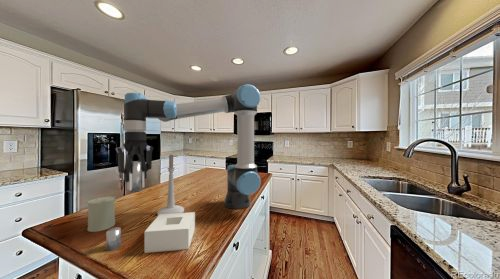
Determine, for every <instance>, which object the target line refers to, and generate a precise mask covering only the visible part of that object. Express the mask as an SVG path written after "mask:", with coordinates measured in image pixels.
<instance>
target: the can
mask: <svg viewBox="0 0 500 279" xmlns="http://www.w3.org/2000/svg"><path fill="white" fill-rule="evenodd" d="M115 202H116V197H115V196H102V197H97V198H93V199H90V200H89V201H87V232H91V233H97V232H101V231H107V230H109V229H111V228H113V227H115V225H116V218H115V217H116V216H115V215H116V213H115V212H116V211H115V210H116V203H115Z"/></svg>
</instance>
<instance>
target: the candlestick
mask: <svg viewBox="0 0 500 279" xmlns="http://www.w3.org/2000/svg"><path fill="white" fill-rule="evenodd" d="M167 169H168V173H169V174H168V186H167V204H166V205H167V206H163V207H162V208H160V209H158V211H157V213H156V215H157V216H158V215H159V214H172V213H185V208H184V207H183V206H181V205H177V204H176V203H175V201H176V200H175V184H174V173H173V172H174V171H175V167H174V154H169V155H168V167H167Z"/></svg>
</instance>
